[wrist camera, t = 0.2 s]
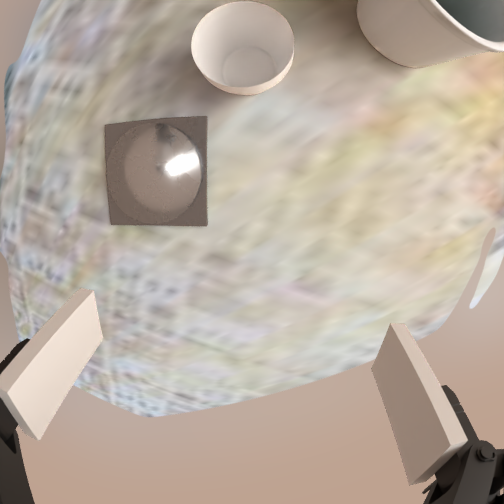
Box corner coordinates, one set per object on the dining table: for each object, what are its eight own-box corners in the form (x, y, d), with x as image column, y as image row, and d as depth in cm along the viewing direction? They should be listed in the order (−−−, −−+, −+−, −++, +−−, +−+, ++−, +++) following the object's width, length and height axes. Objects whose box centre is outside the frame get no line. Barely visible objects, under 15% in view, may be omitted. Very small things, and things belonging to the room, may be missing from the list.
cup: (260, 118, 34) (257, 109, 22) (198, 82, 32) (169, 60, 21) (301, 62, 31) (316, 31, 19) (239, 27, 29) (228, -15, 18)
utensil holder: (374, 79, 31) (448, 49, 14) (332, -15, 26) (369, -87, 9) (458, 69, 28) (541, 55, 12) (420, -17, 23) (481, -63, 7)
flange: (107, 124, 34) (101, 125, 33) (207, 116, 34) (204, 115, 32) (112, 223, 39) (107, 226, 38) (207, 224, 39) (205, 228, 37)
